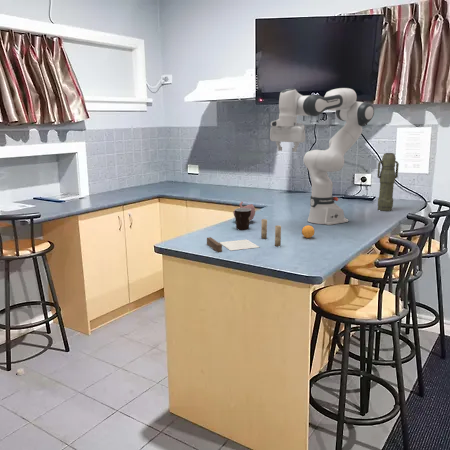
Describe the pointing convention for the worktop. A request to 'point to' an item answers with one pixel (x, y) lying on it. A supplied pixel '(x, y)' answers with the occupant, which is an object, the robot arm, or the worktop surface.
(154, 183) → the worktop surface
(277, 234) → the post
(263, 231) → the post
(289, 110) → the robot arm
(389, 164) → the thermos
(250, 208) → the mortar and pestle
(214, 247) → the stopper wall
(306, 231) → the ball
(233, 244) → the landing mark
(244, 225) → the coffee mug
